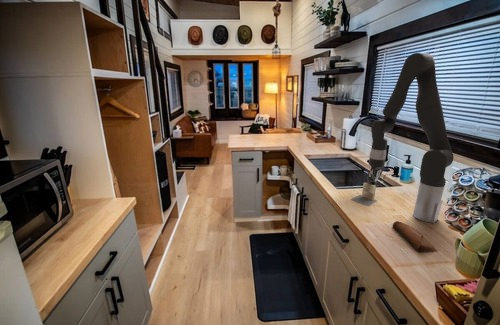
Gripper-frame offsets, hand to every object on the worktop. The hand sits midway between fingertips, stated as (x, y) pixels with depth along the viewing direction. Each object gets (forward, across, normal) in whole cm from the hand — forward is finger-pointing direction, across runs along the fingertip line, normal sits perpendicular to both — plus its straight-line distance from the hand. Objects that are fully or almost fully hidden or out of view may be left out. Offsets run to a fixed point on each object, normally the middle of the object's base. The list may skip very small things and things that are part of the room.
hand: (373, 187), depth 141 cm
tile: (+5, -4, 0) cm, 7 cm away
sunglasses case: (+6, -26, -30) cm, 40 cm away
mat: (+6, -9, 0) cm, 10 cm away
